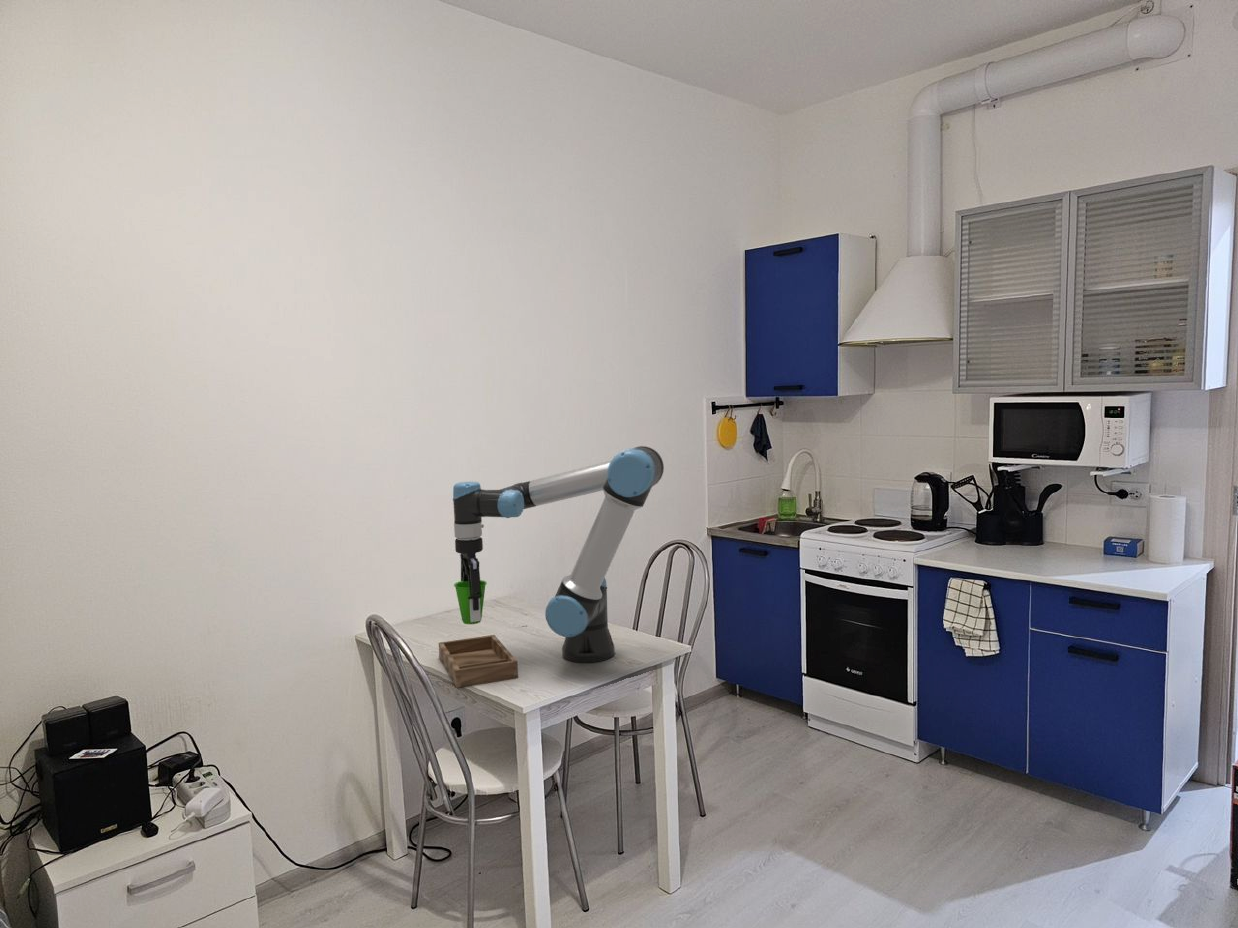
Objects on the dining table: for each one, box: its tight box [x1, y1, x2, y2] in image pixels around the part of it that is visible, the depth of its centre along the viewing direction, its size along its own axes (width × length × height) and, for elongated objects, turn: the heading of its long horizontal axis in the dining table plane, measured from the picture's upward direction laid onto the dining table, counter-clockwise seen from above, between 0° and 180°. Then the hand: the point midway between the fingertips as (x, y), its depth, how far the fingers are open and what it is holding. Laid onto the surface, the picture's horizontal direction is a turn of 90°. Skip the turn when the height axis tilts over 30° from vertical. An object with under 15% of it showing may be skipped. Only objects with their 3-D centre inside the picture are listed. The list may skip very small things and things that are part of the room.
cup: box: [453, 579, 488, 625], centre depth 228 cm, size 9×9×11 cm
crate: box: [438, 634, 519, 689], centre depth 227 cm, size 26×16×4 cm, turn 22°
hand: (471, 616), depth 229 cm, fingers closed on cup, 9 cm apart
